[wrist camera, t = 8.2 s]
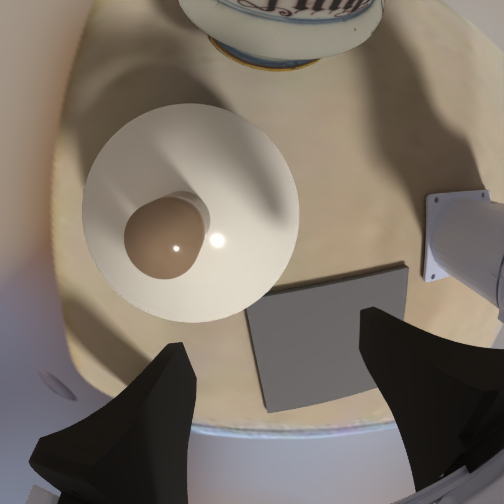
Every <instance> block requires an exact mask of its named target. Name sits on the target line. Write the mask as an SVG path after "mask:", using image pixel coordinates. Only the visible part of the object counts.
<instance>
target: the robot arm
mask: <svg viewBox="0 0 504 504" xmlns="http://www.w3.org/2000/svg"><path fill="white" fill-rule="evenodd" d="M481 195H482V196H481ZM435 198H436V201H435ZM431 276H432V277H431ZM448 276H452V277H454V278H455V279H457V280H458V281H460V282H461V283H463V284H464V285H466V286H467V287H469V288H470V289H472V290H473V291H475V292H476V293H478V294H479V295H480V296H482V297H483V298H485V299H486V300H488V301H489V302H490V303H492V304H493V305H495V306H496V307H497V308H499V315H498V319H499V320H500V321H501V322H502V323H504V204H502V203H498V202H495V201H491V200H490V191H489V190H486V189H485V190H471V191H458V192H447V193H436V194H429V195H428V196H427V197H426V245H425V262H424V274H423V280H424V281H425V282H427V283H429V282H432V281H435V280H439V279H442V278H445V277H448ZM359 351H360V353H361V356H362V358H363V361H364V363H365V365H366V368H367V369H368V371H369V373H370V375H371V376H372V378H373V380H374V382H375V383H376V385H377V387H378V388H379V390H380V392H381V393H382V395H383V397H384V399H385V400H386V402H387V404H388V406H389V408H390V410H391V412H392V414H393V416H394V419H395V421H396V424H397V426H398V429H399V431H400V434H401V437H402V440H403V443H404V446H405V449H406V452H407V456H408V459H409V463H410V466H411V470H412V475H413V479H414V484H415V490H416V493H414V494H412V495H410V496H408V497H406V498H403V499H401V500H399V501H397V502H394V503H392V504H434V503H435V504H504V349H492V348H483V347H476V346H471V345H467V344H462V343H458V342H454V341H451V340H448V339H445V338H441V337H439V336H436V335H433V334H431V333H428V332H426V331H424V330H421V329H419V328H417V327H415V326H412V325H410V324H408V323H406V322H404V321H402V320H400V319H398V318H396V317H394V316H392V315H390V314H389V313H387V312H385V311H383V310H381V309H378V308H376V307H374V306H373V307H369V308H365V309H362V310H360V332H359ZM196 383H197V378H196V375H195V373H194V371H193V368H192V366H191V363H190V361H189V358H188V356H187V353H186V351H185V348H184V345H183V343H182V342H179V343H169V344H167V345H166V346H165V347H164V349H163V350H162V351H161V352H160V353H159V354H158V355H157V356H156V357H155V358H154V360H153V361H152V362H151V363H150V364H149V365H148V366H147V367H146V368H145V369H144V370H143V371H142V373H141V374H140V375H139V376H138V377H137V378H136V379H135V380H134V381H133V382H132V383H131V384H129V385H128V386H127V387H126V388H125V389H124V390H123V391H122V392H121V393H120V394H119V395H118V396H116V397H115V398H114V399H113V400H111V401H110V402H109V403H107V404H106V405H105V406H103V407H102V408H100V409H99V410H98V411H96V412H94V413H93V414H91V415H90V416H88V417H87V418H85V419H83V420H81V421H79V422H78V423H76V424H74V425H72V426H70V427H67V428H65V429H63V430H61V431H58V432H55V433H53V434H50V435H47V436H44V437H41V438H40V439H39V441H38V443H37V445H36V447H35V449H34V451H33V453H32V455H31V457H30V459H29V464H30V466H31V467H32V468H33V469H34V471H35V472H37V473H38V474H39V475H40V476H41V477H42V478H44V479H45V480H46V481H47V482H49V483H50V484H51V485H53V486H54V487H55V488H57V489H58V490H59V491H61V495H60V497H58V496H56V495H55V494H53V493H51V492H49V491H47V490H44V489H42V488H40V487H38V486H36V485H33V486H32V489H31V491H30V494H29V496H28V499H27V502H26V504H188V495H187V450H188V441H189V436H190V430H191V424H192V419H193V413H194V407H195V401H196Z"/></svg>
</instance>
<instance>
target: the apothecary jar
mask: <svg viewBox="0 0 504 504" xmlns="http://www.w3.org/2000/svg"><path fill="white" fill-rule="evenodd" d="M178 1H179V4H180V6H181V8H182V10H183V11H184V13H185V14H186V15H187V17H188V18H189V19H190V20H191V21H192V22H193V23H194V24H195V25H196V26H197V27H198V28H200V29H201V30H202V31H204V32H205V33H206V34H208V35H209V36H211V37H210V40H211V42H212V43H213V44H214V45H215V47H216V48H217V49H218V50H219V51H220V52H222V53H223V54H224V55H225V56H227V57H228V58H230V59H232V60H234V61H236V62H238V63H240V64H242V65H245V66H248V67H251V68H255V69H260V70H265V71H292V70H296V69H300V68H303V67H306V66H309V65H311V64H313V63H315V62H317V61H319V60H320V59H322V58H324V57H329V56H333V55H337V54H340V53H343V52H346V51H348V50H350V49H353V48H355V47H356V46H358V45H360V44H361V43H363V42H364V41H366V40H367V39H368V38H369V37H370V36H371V35H372V34H373V33H374V31H375V30H376V28H377V27H378V25H379V23H380V21H381V19H382V15H383V11H384V0H178Z"/></svg>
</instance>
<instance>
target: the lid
mask: <svg viewBox="0 0 504 504" xmlns="http://www.w3.org/2000/svg"><path fill="white" fill-rule="evenodd" d="M82 222H83V229H84V235H85V239H86V243H87V246H88V249H89V251H90V254H91V256H92V259H93V261H94V263H95V264H96V266H97V268H98V270H99V271H100V273H101V274H102V276H103V277H104V278H105V280H106V281H107V282H108V283H109V285H110V286H111V287H112V288H113V289H114V290H115V291H116V292H117V293H118V294H119V295H120V296H122V297H123V298H124V299H125V300H127V301H128V302H129V303H131V304H132V305H134V306H135V307H137V308H139V309H141V310H143V311H145V312H147V313H149V314H152V315H154V316H157V317H159V318H163V319H167V320H171V321H178V322H206V321H213V320H217V319H221V318H225V317H228V316H230V315H233V314H235V313H238V312H240V311H241V310H243V309H245V308H247V307H249V306H250V305H252V304H253V303H255V302H256V301H257V300H259V299H260V298H261V297H262V296H263V295H264V294H265V293H267V292H268V291H269V290H270V289H271V287H272V286H273V285H274V284H275V283H276V281H277V280H278V279H279V278H280V276H281V274H282V273H283V271H284V270H285V268H286V266H287V264H288V262H289V260H290V258H291V255H292V253H293V250H294V246H295V243H296V240H297V234H298V228H299V203H298V194H297V190H296V186H295V183H294V179H293V177H292V174H291V172H290V169H289V167H288V165H287V163H286V161H285V159H284V158H283V156H282V154H281V153H280V151H279V150H278V149H277V147H276V146H275V145H274V143H273V142H272V141H271V140H270V139H269V138H268V137H267V136H266V135H265V134H264V133H263V132H262V131H261V130H260V129H259V128H258V127H256V126H255V125H253V124H252V123H250V122H249V121H248V120H246V119H245V118H243V117H241V116H239V115H237V114H235V113H233V112H230V111H228V110H225V109H222V108H219V107H215V106H210V105H204V104H191V103H184V104H174V105H168V106H164V107H160V108H156V109H154V110H151V111H149V112H146V113H144V114H142V115H140V116H138V117H136V118H135V119H133V120H131V121H130V122H128V123H127V124H126V125H124V126H123V127H122V128H121V129H119V130H118V131H117V132H116V133H115V134H114V135H113V136H112V137H111V138H110V139H109V140H108V141H107V143H106V144H105V145H104V147H103V148H102V149H101V151H100V152H99V154H98V155H97V157H96V159H95V161H94V163H93V165H92V167H91V169H90V172H89V175H88V177H87V180H86V184H85V189H84V193H83V202H82Z"/></svg>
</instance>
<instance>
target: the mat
mask: <svg viewBox="0 0 504 504" xmlns="http://www.w3.org/2000/svg"><path fill="white" fill-rule="evenodd" d="M408 272H409V267H408V266H406V265H405V266H401V267H396V268H392V269H388V270H383V271H379V272H374V273H370V274H365V275H360V276H355V277H351V278H346V279H341V280H336V281H331V282H326V283H321V284H315V285H310V286H305V287H299V288H294V289H288V290H283V291H277V292H271V293H265V294H264V295H263V296H262V297H261V298H260V299H259V300H257V301H256V302H255V303H253V304H252V305H250V306H249V307H247V308H246V309H247V315H248V320H249V325H250V330H251V335H252V340H253V345H254V350H255V355H256V360H257V364H258V369H259V374H260V379H261V384H262V389H263V393H264V398H265V403H266V407H267V412H268V413H273V412H279V411H285V410H290V409H296V408H301V407H306V406H310V405H315V404H319V403H324V402H328V401H332V400H336V399H340V398H343V397H347V396H351V395H354V394H358V393H361V392H364V391H367V390H371V389H374V388H377V385H376V383H375V382H374V380H373V378H372V376H371V375H370V373H369V371H368V369H367V368H366V365H365V363H364V361H363V358H362V356H361V353H360V351H359V332H360V310H362V309H365V308H369V307H373V306H374V307H376V308H378V309H381V310H383V311H385V312H387V313H389V314H390V315H392V316H394V317H396V318H398V319H400V320H402V321H403V320H404V312H405V304H406V295H407V285H408Z"/></svg>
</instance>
